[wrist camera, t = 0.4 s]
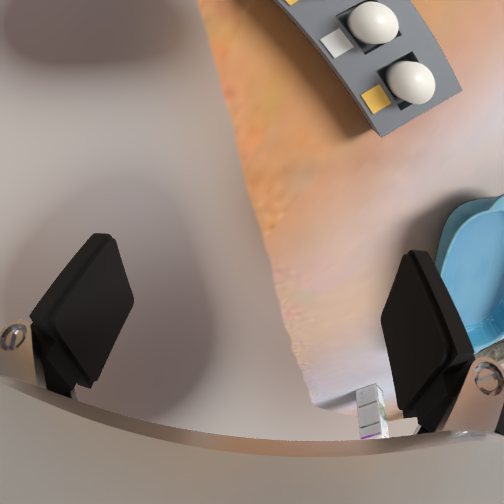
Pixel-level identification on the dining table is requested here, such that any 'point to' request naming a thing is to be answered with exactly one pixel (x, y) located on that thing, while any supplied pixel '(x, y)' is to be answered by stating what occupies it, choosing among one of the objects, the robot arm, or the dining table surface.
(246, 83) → the dining table surface
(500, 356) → the long grey stone
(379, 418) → the syrup box
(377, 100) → the button board
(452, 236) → the casserole dish
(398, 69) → the button
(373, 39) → the middle button
